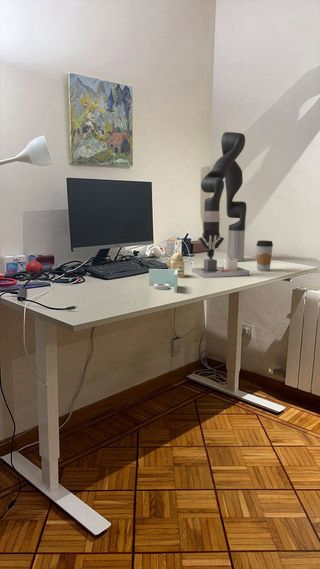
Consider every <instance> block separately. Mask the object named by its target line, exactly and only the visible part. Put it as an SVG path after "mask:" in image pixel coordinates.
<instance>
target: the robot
mask: <svg viewBox="0 0 320 569" xmlns="http://www.w3.org/2000/svg"><path fill="white" fill-rule="evenodd" d="M180 247H181V246H180V245H177V248H180ZM178 250H179V249H176V252H174V253H173V254H172V255H171V259H170V257H169V258H167V263H168V264H166V267H168V269H167V270H178V279H182V278H185V277H187V276H188V275H187V274H185V261H184V256H183V254H182V253H180V252H178ZM179 277H180V278H179ZM181 277H182V278H181Z"/></svg>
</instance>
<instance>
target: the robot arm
mask: <svg viewBox="0 0 320 569" xmlns="http://www.w3.org/2000/svg"><path fill="white" fill-rule="evenodd" d="M220 142H221V151H222V152H221V153H222V156H220V157H219V158H218V159H217V160H216V161H215V163H214V165H213V167H212V168H211V169H210V171H208V173H207V174H206V175H205V176H204V177H203V178H202V180H201V183H200V188H201V190H202V192H204V193H209V194H210V193H211V194H213V196H211V197H207V198H205V200H204V207H203V208H204V212H203V223H202V225H203V228H202V231H203V232H202V236H200V237H198V238H197V240H198V242H199V243H200V244H201V246H202V247H203V249H206V250H207V251H206V252H207V254H206V255H207V257H208V258H209V257H210V258H212V259H213V258H214V256H215V249H218V248H219V246H220V245H221V244H222V243H223V241H224V240H225V238H224V237H223V236H221V234H220V219H221V218H220V217H221V215H220V205H221V204H220V203H221V199H222V194H223V191H224V188H225V192H226V194H225V195H226V215H227V217H228V218H230V219H239V220H238V221H236V222H235V223H232V224H229V225H228V236H227V239H228V240H227V249H226V250H227V256H226V258H229V256H233V258H235V259H237V262H243V261H245V240H246V239H245V237H246V215H247V203H246V201H233V200H234V198H235V197H236V196H235V195H236V194H237V193H238V191H239V190H240V189H241V187H242V185H243V182H244V181H243V180H244V179H243V178H244V177H243V170H242V168H241V166H240V165H239V164H238V163H237V161H236V160H237V158H238V157H239V156H240V155H241V153H242V152H243V150H244V148H245V144H246V136H245V134H244V133H241V132H232V131H225V132H224V133H222V136H221V140H220Z"/></svg>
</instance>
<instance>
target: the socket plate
mask: <svg viewBox="0 0 320 569" xmlns="http://www.w3.org/2000/svg"><path fill="white" fill-rule="evenodd" d="M191 273H193V274H195V275H197V276H199V277H201V278H203V277H204V279H205V277H206V278H207V277H213V278H230V277H231V278H233V277H236V278H237V277H250V270H248V269H246V268H243V267H239V266H237V270H228V269H224V266H217V271H208V272H206V271H204V267H194V268H193V267H192V268H191ZM207 279H208V278H207Z"/></svg>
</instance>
